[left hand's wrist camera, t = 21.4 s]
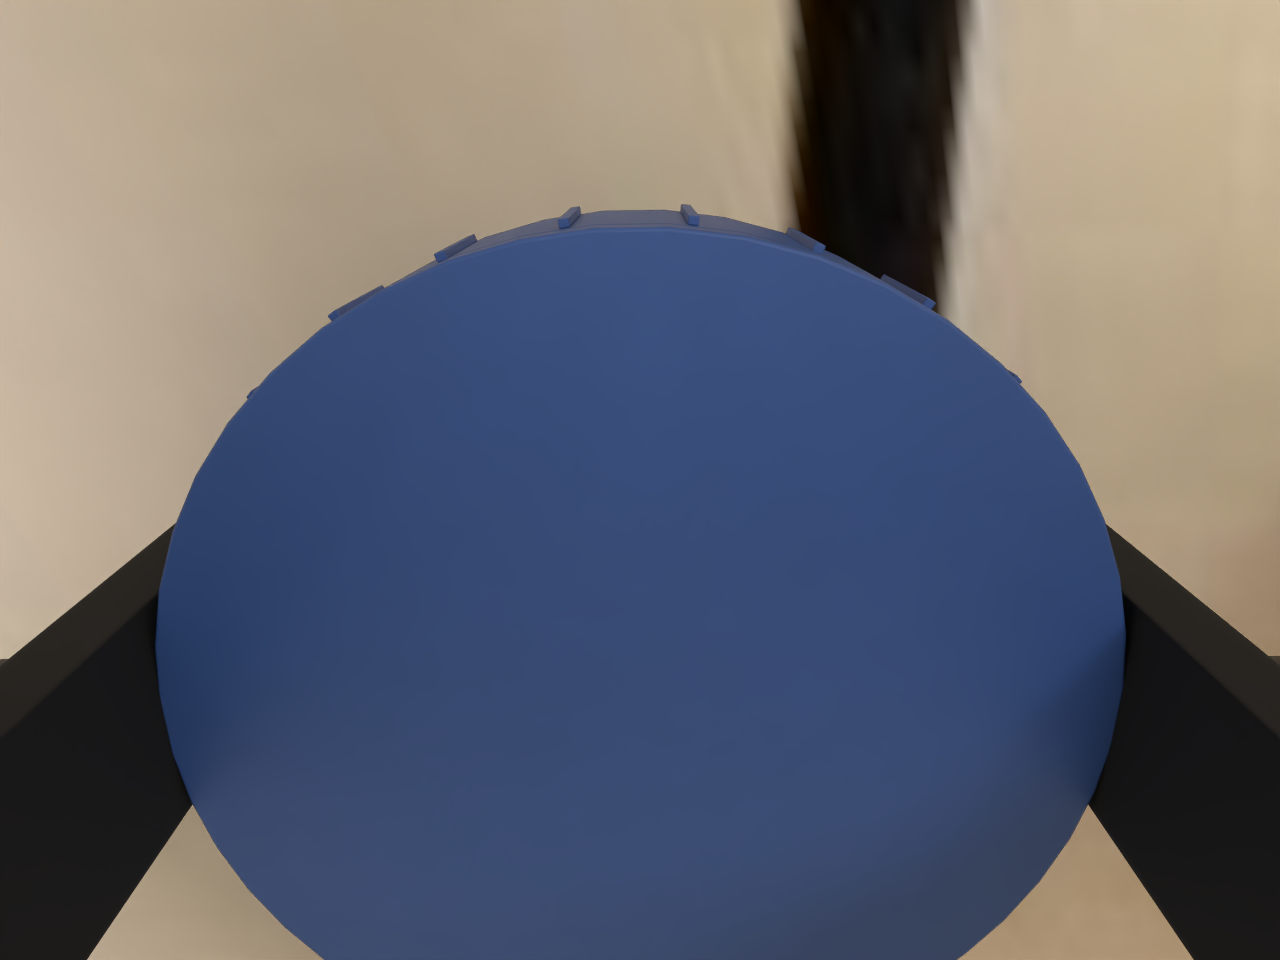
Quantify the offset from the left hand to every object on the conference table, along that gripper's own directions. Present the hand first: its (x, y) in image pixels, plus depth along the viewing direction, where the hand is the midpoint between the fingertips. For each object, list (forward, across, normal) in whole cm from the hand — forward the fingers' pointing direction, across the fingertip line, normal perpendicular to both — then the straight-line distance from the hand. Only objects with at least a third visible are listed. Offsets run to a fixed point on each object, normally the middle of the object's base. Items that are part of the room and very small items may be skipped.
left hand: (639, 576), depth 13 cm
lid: (-3, 0, 0) cm, 3 cm away
